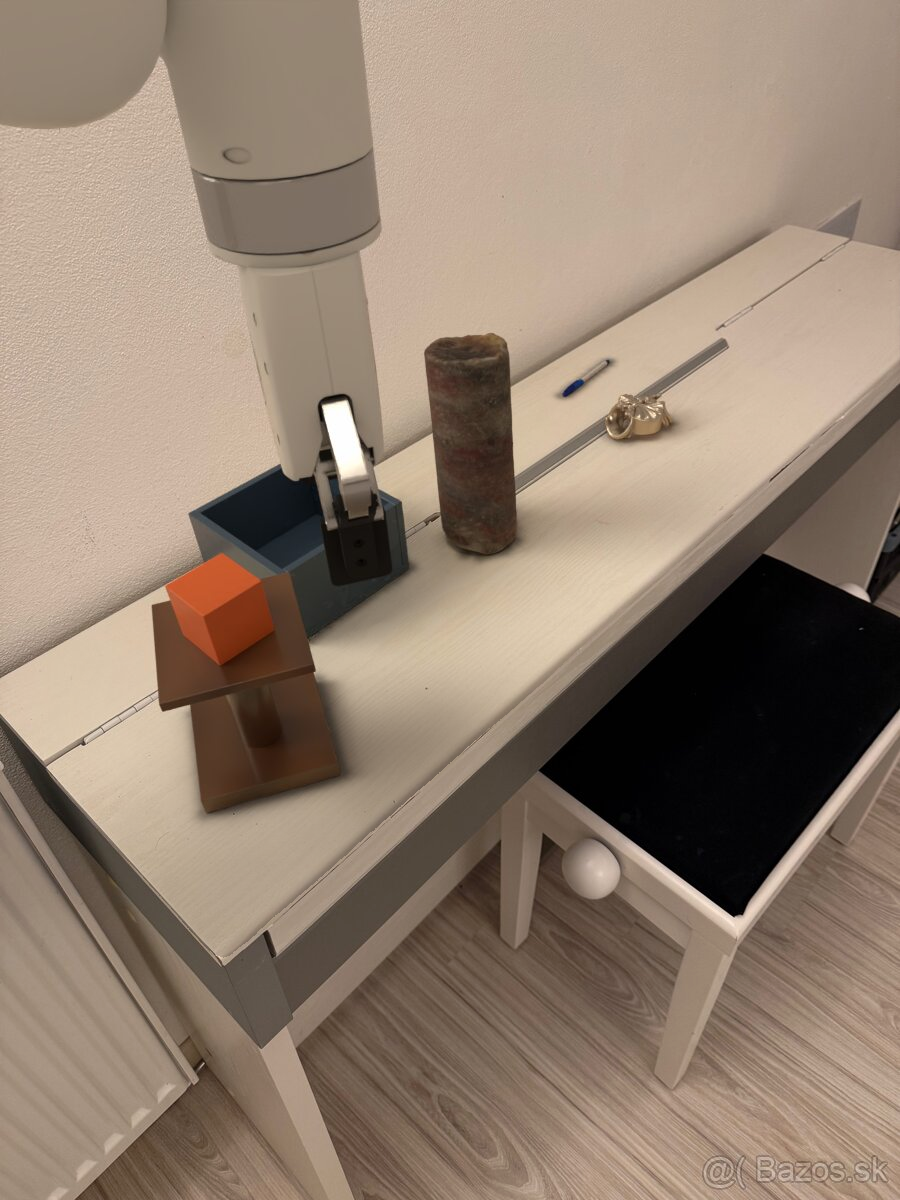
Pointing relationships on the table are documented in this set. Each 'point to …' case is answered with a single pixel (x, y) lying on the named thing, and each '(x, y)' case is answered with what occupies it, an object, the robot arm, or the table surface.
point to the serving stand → (248, 705)
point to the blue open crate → (290, 541)
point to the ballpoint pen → (583, 379)
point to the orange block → (221, 608)
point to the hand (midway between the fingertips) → (344, 524)
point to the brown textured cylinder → (473, 439)
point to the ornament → (637, 416)
